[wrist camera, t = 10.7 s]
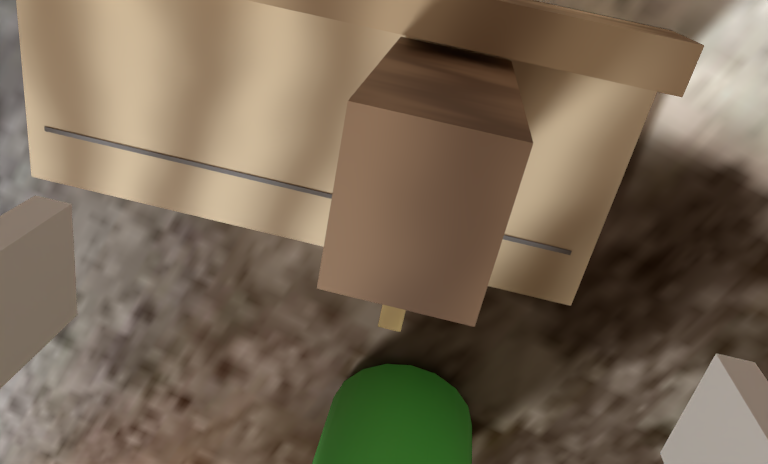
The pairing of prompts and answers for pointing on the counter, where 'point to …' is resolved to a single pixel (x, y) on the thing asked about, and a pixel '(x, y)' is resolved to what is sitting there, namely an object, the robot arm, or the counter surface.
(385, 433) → the bottle
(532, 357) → the counter surface
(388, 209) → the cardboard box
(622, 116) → the board
